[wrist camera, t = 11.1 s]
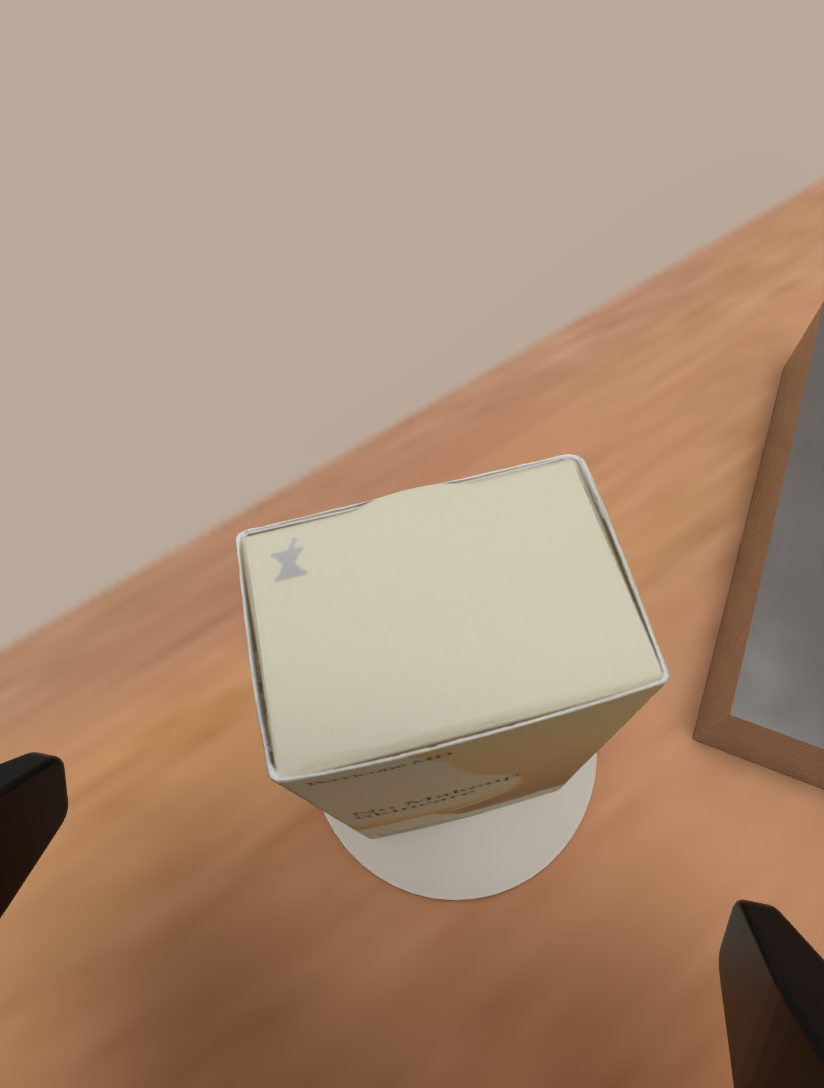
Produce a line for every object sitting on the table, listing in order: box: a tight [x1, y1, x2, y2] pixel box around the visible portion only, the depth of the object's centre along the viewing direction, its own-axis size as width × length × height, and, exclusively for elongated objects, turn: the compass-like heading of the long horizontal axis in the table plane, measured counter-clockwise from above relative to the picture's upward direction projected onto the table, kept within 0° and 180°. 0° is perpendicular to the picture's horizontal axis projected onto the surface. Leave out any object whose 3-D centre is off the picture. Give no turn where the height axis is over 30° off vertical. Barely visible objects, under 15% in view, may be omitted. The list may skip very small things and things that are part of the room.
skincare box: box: [236, 454, 669, 839], centre depth 16 cm, size 6×4×12 cm
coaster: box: [323, 752, 597, 900], centre depth 22 cm, size 9×9×1 cm
